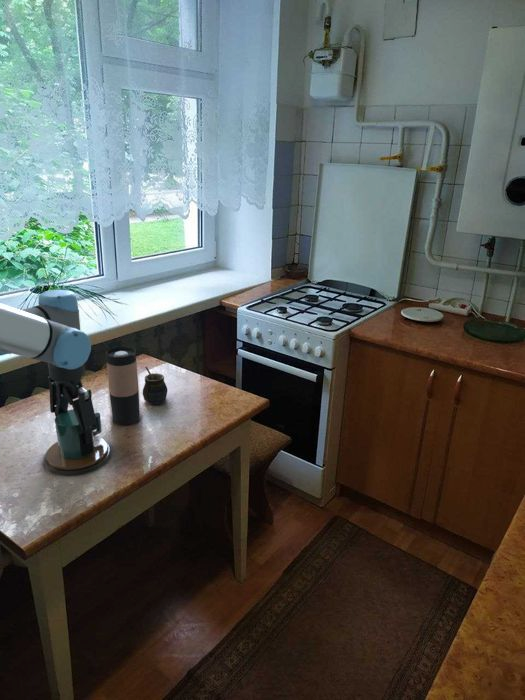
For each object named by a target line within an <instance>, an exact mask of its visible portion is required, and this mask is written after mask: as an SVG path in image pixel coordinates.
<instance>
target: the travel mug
mask: <svg viewBox="0 0 525 700" xmlns="http://www.w3.org/2000/svg"><path fill="white" fill-rule="evenodd" d="M105 356H106V369H107V381H108V394H109V399H110V400H109V401H110V407H111V413H112V414H111V416H112V420H113V423H114V424H116V425H118V426H128V425H133V424H135V423H136V422H138V421H139V420H140V389H139V378H138V377H139V376H138V367H137V364H138V363H137V351H136V349H135V348H133V347H129V346H116V347H112V348H110V349H108V350H107V351H106V353H105Z"/></svg>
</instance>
